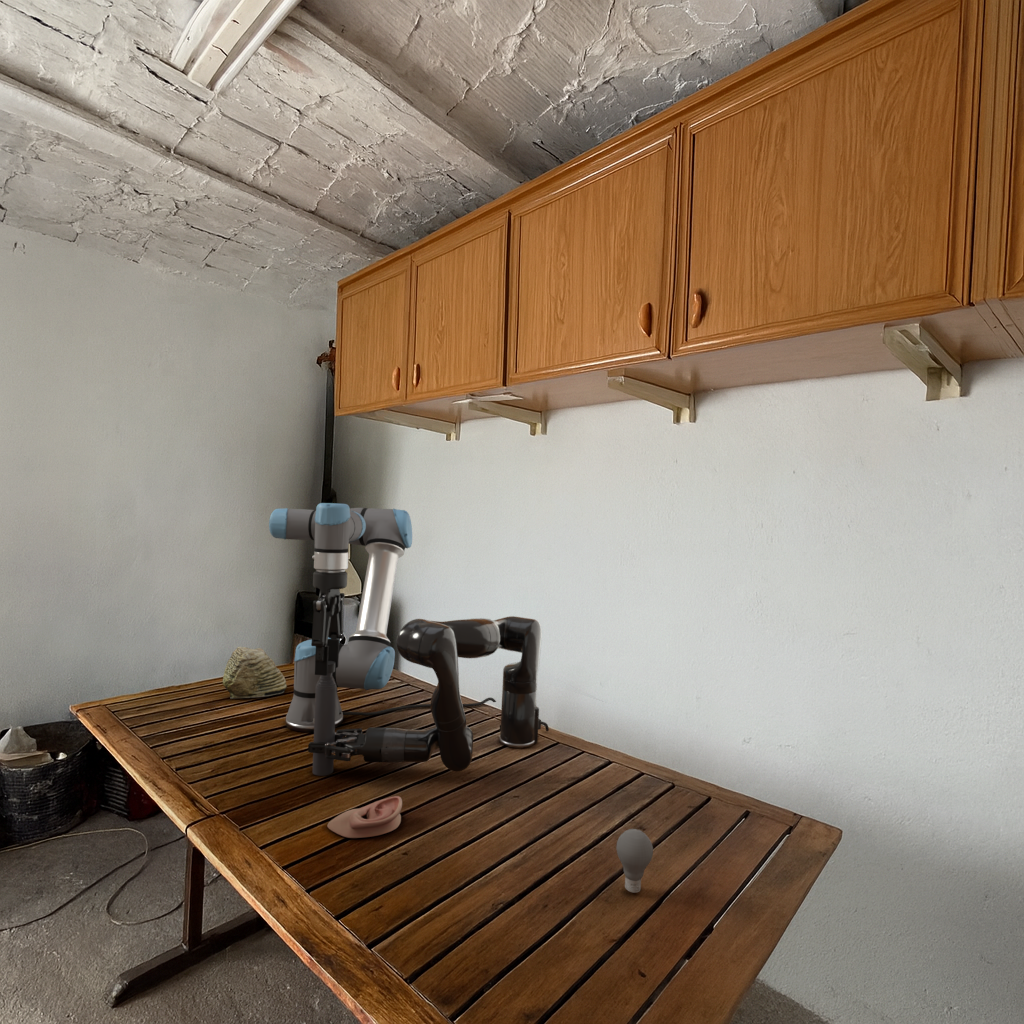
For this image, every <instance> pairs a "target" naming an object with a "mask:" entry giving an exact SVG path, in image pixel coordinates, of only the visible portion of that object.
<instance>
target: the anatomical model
mask: <svg viewBox="0 0 1024 1024" xmlns="http://www.w3.org/2000/svg"><path fill="white" fill-rule="evenodd" d="M402 808H403V799H402V797H401V796H399V795H395V796H389V797H385V798H383V799H379V800H376V801H374V802H372V803H369V804H367V805H365V806H362V807H359V808H353V809H349V810H346V811H344V812H341V813H340V814H338V815H337V816H335V817H334V818H332V819H331V820H330V821H329V822H328V823H327V828H328V829H329V830H330V831H331V832H333V833H335V834H337V835H339V836H340V837H341V836H342V837H344V838H347V839H360V838H370V837H371V838H372V837H377V836H382V835H384V834H387V833H390V832H392V831H394V830H396V829H397V828H398V827H399V826H400V824H401V822H402V815H401V811H402Z"/></svg>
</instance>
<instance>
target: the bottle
mask: <svg viewBox="0 0 1024 1024" xmlns="http://www.w3.org/2000/svg"><path fill="white" fill-rule="evenodd" d="M336 688H337V689H338V687H337V686H336V683H335V681H334V678H333V676H332V673H328V675H327V676H325V675H321V677H320V679H319V681H318V682H317V684H316V692H315V718H314V732H313V742H326V743H327V742H334V740H335V732H336V727H335V714H336ZM332 751H333V750H332ZM333 755H335V754H333ZM334 760H335V759H328V758H326V755H325V753H312V774H313V775H315V776H318V777H324V776H330V775H331V774H333V772H334V766H335V765H334V762H335V761H334Z"/></svg>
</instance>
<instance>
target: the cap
mask: <svg viewBox="0 0 1024 1024" xmlns="http://www.w3.org/2000/svg"><path fill="white" fill-rule="evenodd" d="M333 672H335V662H334V661H328V673H333Z"/></svg>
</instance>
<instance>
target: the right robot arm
mask: <svg viewBox="0 0 1024 1024" xmlns="http://www.w3.org/2000/svg"><path fill="white" fill-rule="evenodd" d="M542 642H543V628H542V624H541V623H540V621H539V620H538V619H534V618H528V617H523V616H516V615H515V616H514V615H510V616H505V617H502V618H498V619H491V618H484V617H483V618H482V617H480V618H479V617H478V618H477V617H476V618H466V619H465V618H464V619H463V618H462V619H453V620H443V621H439V620H430V619H425V618H415V619H411V620H409V621H408V622H406V623H405V624H404V625H403V626H402V627H401V629H400V630H399V631H398V634H397V636H396V641H395V643H396V648H397V649H396V650H397V652H398V654H399V655H400V656H401V657H402V658H403V659H404V660H406V661H407V662H409V663H412V664H416V665H419V666H422V667H425V668H427V669H432V670H433V671H434V674H435V675H436V678H437V684H436V685H435V688H434V690H433V691H432V694H431V698H430V703H429V704H430V705H431V707H430V712H431V715H432V720H433V722H434V725H435V727H433V728H428V729H405V728H398V727H373V726H372V727H371V726H370V727H368V728H367V729H366V730H365V733H363V728H361V727H359V728H345V729H337V730H336V731H335V740H334V742H327V743H326V742H314V741H310V742H309V743H308V746H307V752H308V753H310V754H313V753H325V755H326V758H328V759H334V760H336V761H342V762H350V761H351V760H352V757H354V756H361V755H362V757H363V761H364V762H365V763H390V764H391V763H392V764H394V763H395V764H397V763H426V762H428V761H430V759H431V758H432V755H433V753H434V751H436V750H439V755H440V759H441V762H442V764H443V765H444V767H445V768H446V769H448V770H449V771H452V772H456V773H459V772H462V771H465V770H466V769H468V768H469V766H470V765H471V763H472V760H473V750H474V733H473V730H472V729H471V728H470V727H469V726H467V717H466V714H465V713H466V712H465V710H464V707H463V705H462V704H463V702H462V697H461V691H460V672H459V668H460V667H459V658H460V659H461V658H462V659H479V658H486V657H489V656H491V655H493V654H494V653H496V651H498V649H499V650H505V651H509V652H514V653H519V654H521V656H520V657H521V658H520V660H519V661H516V662H511V663H508V664H506V665H504V666H503V670H502V687H501V688H502V689H501V710H500V724H499V729H498V730H499V743H500V744H501V745H503V746H505V747H508V748H513V749H514V748H515V749H525V748H530V747H532V746H534V745H536V744H538V742H539V741H538V739H539V730H542V726H543V727H544V728H545V731H546V732H549V731H550V729H549V724H547V722H545V721H542V720H541V719H540V708H539V706H538V705H537V695H538V674H539V669H540V663H541V651H542V650H541V649H542ZM332 750H333V751H332ZM333 754H334V755H333Z"/></svg>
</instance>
